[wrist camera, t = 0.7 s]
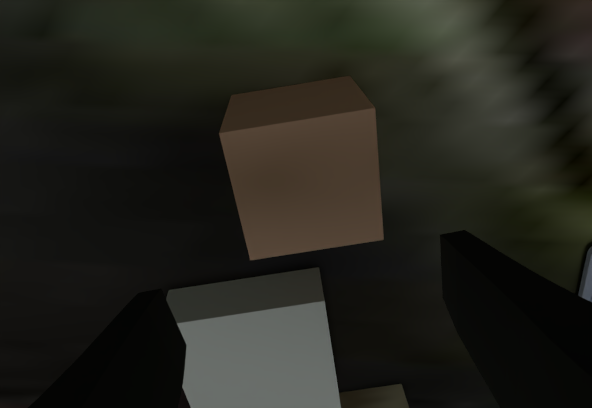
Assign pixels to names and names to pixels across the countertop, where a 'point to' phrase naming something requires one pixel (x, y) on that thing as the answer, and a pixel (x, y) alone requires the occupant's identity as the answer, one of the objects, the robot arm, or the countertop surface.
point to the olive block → (375, 398)
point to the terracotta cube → (304, 167)
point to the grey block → (257, 342)
